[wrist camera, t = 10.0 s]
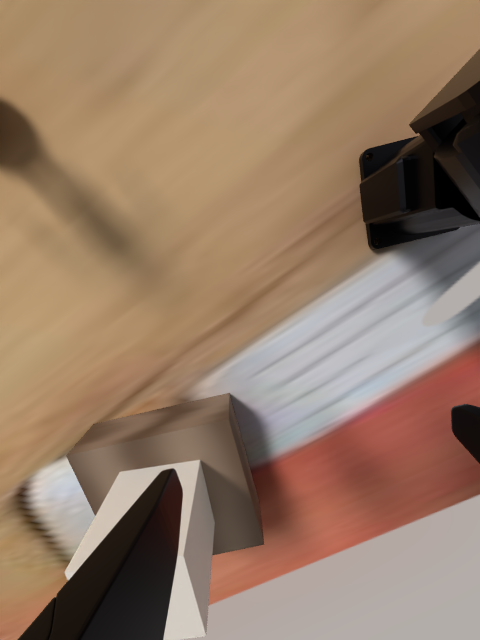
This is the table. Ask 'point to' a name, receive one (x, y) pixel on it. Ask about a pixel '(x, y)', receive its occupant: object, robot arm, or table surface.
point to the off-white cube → (194, 542)
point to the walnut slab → (178, 461)
